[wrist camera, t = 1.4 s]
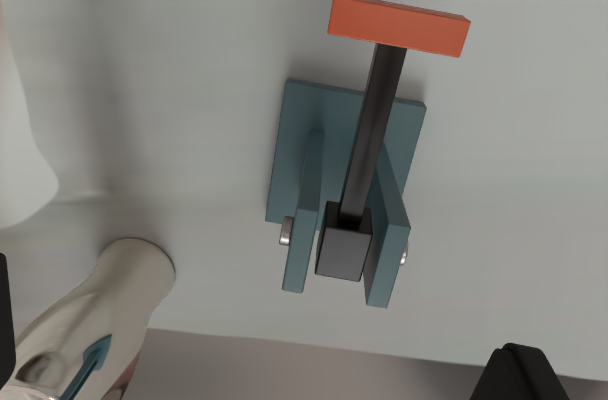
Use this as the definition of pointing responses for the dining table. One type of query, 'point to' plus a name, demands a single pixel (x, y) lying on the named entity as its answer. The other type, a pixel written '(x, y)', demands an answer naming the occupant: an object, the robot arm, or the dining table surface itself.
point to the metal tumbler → (93, 329)
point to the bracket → (339, 179)
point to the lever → (375, 115)
